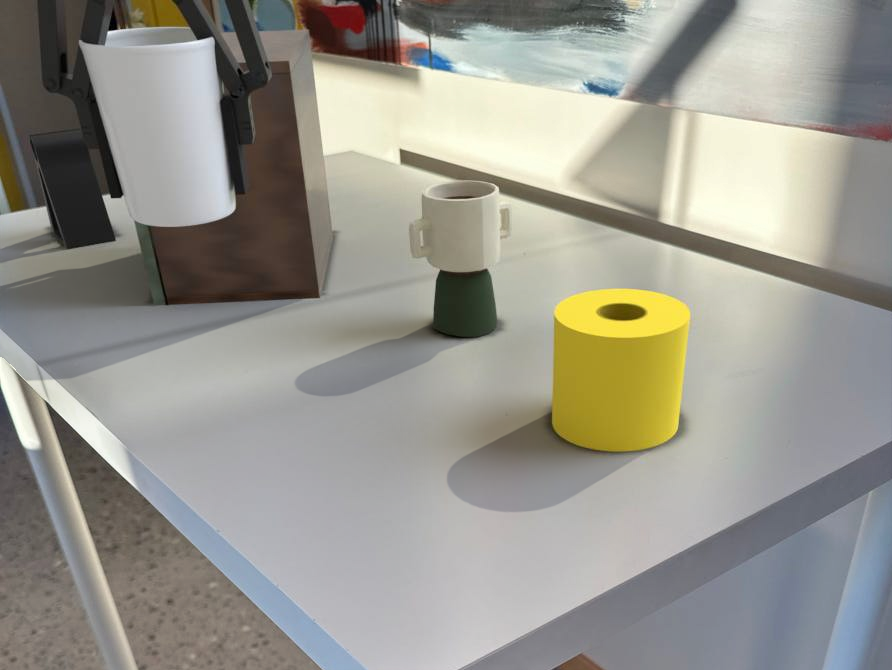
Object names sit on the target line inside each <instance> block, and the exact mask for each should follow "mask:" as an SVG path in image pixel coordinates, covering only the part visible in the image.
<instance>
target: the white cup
mask: <svg viewBox="0 0 892 670" xmlns="http://www.w3.org/2000/svg"><path fill="white" fill-rule="evenodd" d="M78 46H80V48H81V50H82V53H83V56H84V59H85V63H86V66H87V70H88V73H89V77H90V80H91V84H92V87H93V91H94V94H95V98H96V101H97V105H98V108H99V112H100V115H101V119H102V122H103V126H104V129H105V133H106V136H107V140H108V143H109V147H110V150H111V154H112V157H113V161H114V164H115V168H116V171H117V175H118V178H119V181H120V185H121V188H122V192H123V199H124V201H125V205H126V209H127V211H128V213H129V216H130V218H131V219H132V220H133V221H134V220H135V221H136V222H138V223H141V224H145V225H150V226H160V227H180V226H191V225H198V224H204V223H209V222H213V221H216V220H219V219H222V218H225V217H227V216H229V215H230V214H232V213H233V212H234V210H235V208H236V195H235V189H234V183H233V176H232V170H231V164H230V158H229V152H228V146H227V140H226V133H225V127H224V121H223V115H222V109H221V103H220V100H221V99H223V98H224V97H225V90H224V83H223V81H222V80H221V78H220V76H219V75H218V73H217V69H216V60H215V41H214V38H213V37H209V38H206V39H202V40H197V38H196V37H195V35H194V33H193V32H192V30H191V28H190V27H189V26H154V27H153V26H152V27H151V26H150V27H136V28H135V27H133V28H124V29H115V30H108V33H107V38H106V43H105V46H104V45H94V44H88V43H84V42H83V41H82V40H80V39H79V40H78Z"/></svg>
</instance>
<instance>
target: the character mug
mask: <svg viewBox="0 0 892 670" xmlns="http://www.w3.org/2000/svg"><path fill="white" fill-rule="evenodd" d="M420 201H421V218H418V219H417V218H416V219H414V220H412V221H411V222H409V226H408V235H409V236H408V237H409V248H410V249H409V250H410V254H411V256H412V258H413V259H421V258H426V260H427V262H428V264H429V265H430V266H432V267H433V268H434V269H435V268H436V269H438V270H439V271H438V272H437V273H438V274H437V276H436V279H435V288H434V299H433V315H432V316H433V318H432V319H433V321H432V328H433V329H434V330H436V331H438V332H439V333H444V334H446V335H450V336H454V337H455V336H456V337H460V338H477V337H478V338H479V337H482V336H485V335H488V334H490V333H492V332H493V331H494V330H495V329H496V328H497V325H498V314H497V303H496V298H495V291H494V286H493V279H492V275H491V273H490V271H489V268H491V267H494V266H495V265H496V264H497V263H499V262H500V257H501V240H504V239H507V238H509V237H510V236H511V235H512V230H513V228H512V227H513V226H512V225H513V224H512V222H513V221H512V214H513V213H512V211H513V210H512V205H511V202H510V201H507V200H504V201H503V200H502V201H500V188H499V186H498V185H496V184H494V183H491V182H486V181H482V180H481V181H480V180H468V179H467V180H465V179H464V180H463V179H461V180H447V181H441V182H435V183H432V184H429V185H427V186H426V187H424V188H422V191H421V200H420ZM500 219H501V220H500ZM421 232H422V245H421Z"/></svg>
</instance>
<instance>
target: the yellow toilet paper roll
mask: <svg viewBox="0 0 892 670" xmlns="http://www.w3.org/2000/svg"><path fill="white" fill-rule="evenodd" d="M690 321H691V310H690V309H689V307H688V306H687V304H685V303H684V302H683V301H681V300H679V299H677V298H675V297H672V296H671V295H667V294H664V293H661V292H656V291H651V290H645V289H636V288H604V289H596V290H590V291H584V292H580V293H577V294H574V295H571V296H568V297H566V298H565V299H562V301H560V302H559V303H558V304H556V306H555V308H554V311H553V354H552V355H553V356H552V359H553V360H552V364H553V365H552V401H551V403H552V404H551V406H552V407H551V411H552V412H551V424H552V428H553V430H554V431H555V432H556V434H557V435H558V436H560V437H561V438H562V439H564V440H565V441H567V442H569V443H571V444H574V445H576V446H579V447H582V448H585V449H586V448H587V449H590V450H595V451H600V452H601V451H602V452H616V453H617V452H618V453H619V452H620V453H621V452H635V451H641V450H646V449H651V448H654V447H656V446H657V447H658V446H659V445H662V444H664V443H665V442H667V441H669V440H670V439H671V438H673V437H674V436H675V434H676V433H677V431H678V428H679V423H680V422H679V420H680V412H681V405H682V394H683V386H684V385H683V384H684V376H685V366H686V357H687V348H688V342H689V341H688V340H689V332H690Z"/></svg>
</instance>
